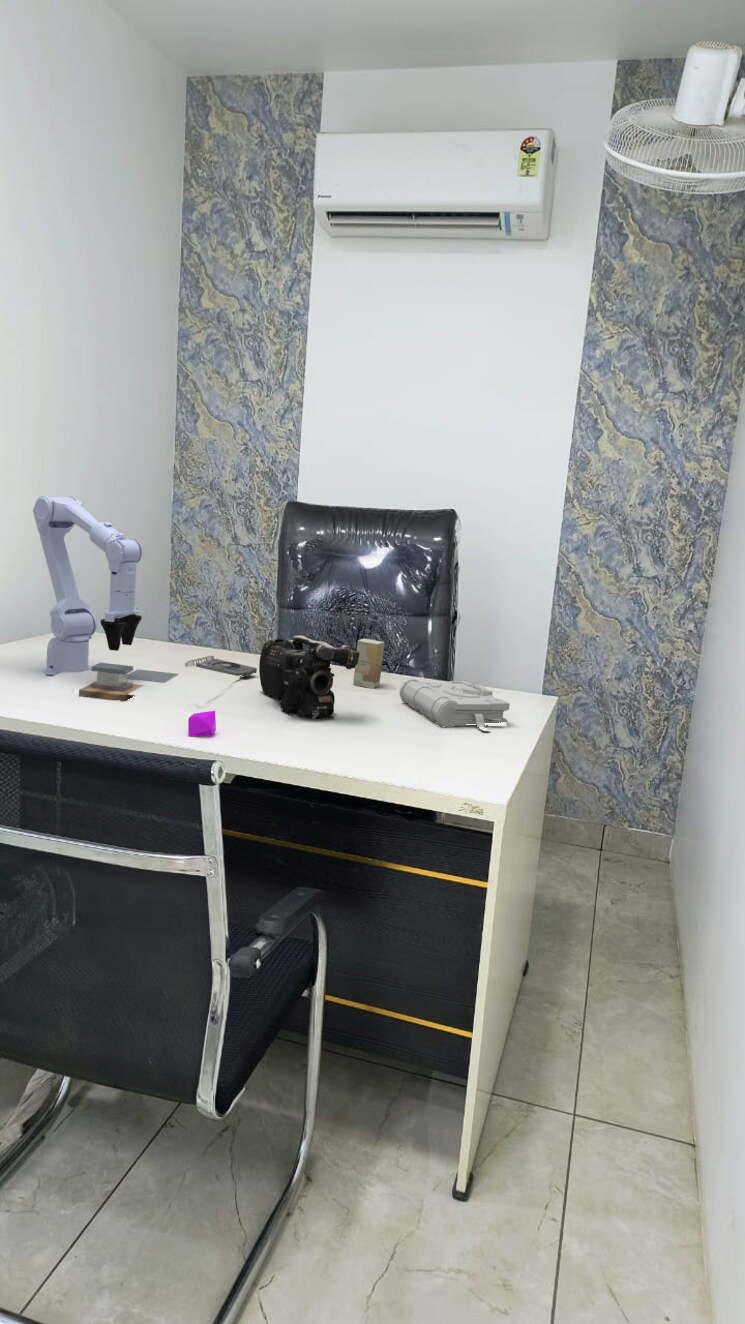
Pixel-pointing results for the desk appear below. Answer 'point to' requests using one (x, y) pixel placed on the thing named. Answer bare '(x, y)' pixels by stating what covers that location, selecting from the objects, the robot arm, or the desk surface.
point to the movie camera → (303, 674)
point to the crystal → (202, 724)
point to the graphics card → (223, 666)
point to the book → (454, 702)
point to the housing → (112, 677)
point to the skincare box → (369, 663)
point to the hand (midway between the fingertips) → (120, 647)
